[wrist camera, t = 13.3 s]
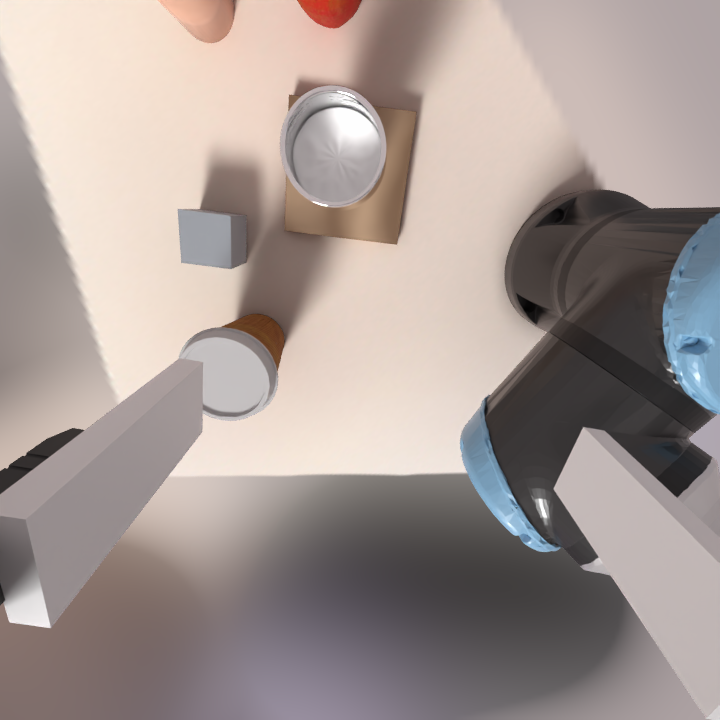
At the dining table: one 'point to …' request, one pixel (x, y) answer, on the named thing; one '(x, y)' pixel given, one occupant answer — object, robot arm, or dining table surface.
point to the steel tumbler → (334, 148)
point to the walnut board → (381, 210)
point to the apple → (330, 11)
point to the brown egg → (203, 17)
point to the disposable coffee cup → (238, 366)
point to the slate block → (212, 238)
